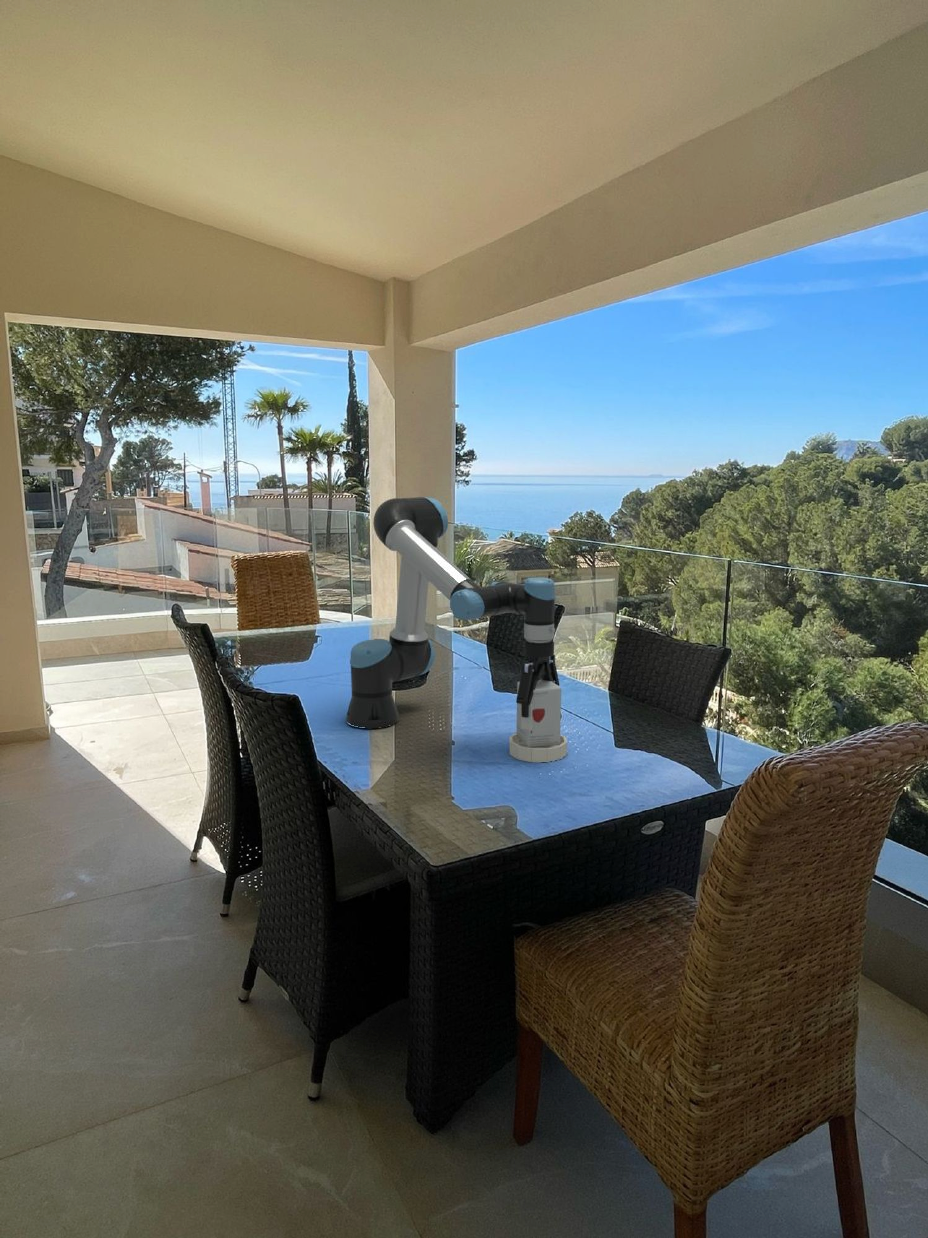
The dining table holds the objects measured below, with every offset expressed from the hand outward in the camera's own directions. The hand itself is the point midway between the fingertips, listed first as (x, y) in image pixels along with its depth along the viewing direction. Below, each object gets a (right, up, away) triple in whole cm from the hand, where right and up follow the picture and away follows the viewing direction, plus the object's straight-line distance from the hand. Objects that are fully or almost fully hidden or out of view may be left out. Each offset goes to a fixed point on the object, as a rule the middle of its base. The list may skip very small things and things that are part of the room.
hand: (538, 722), depth 197 cm
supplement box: (0, -5, +1) cm, 5 cm away
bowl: (0, -8, +2) cm, 8 cm away
